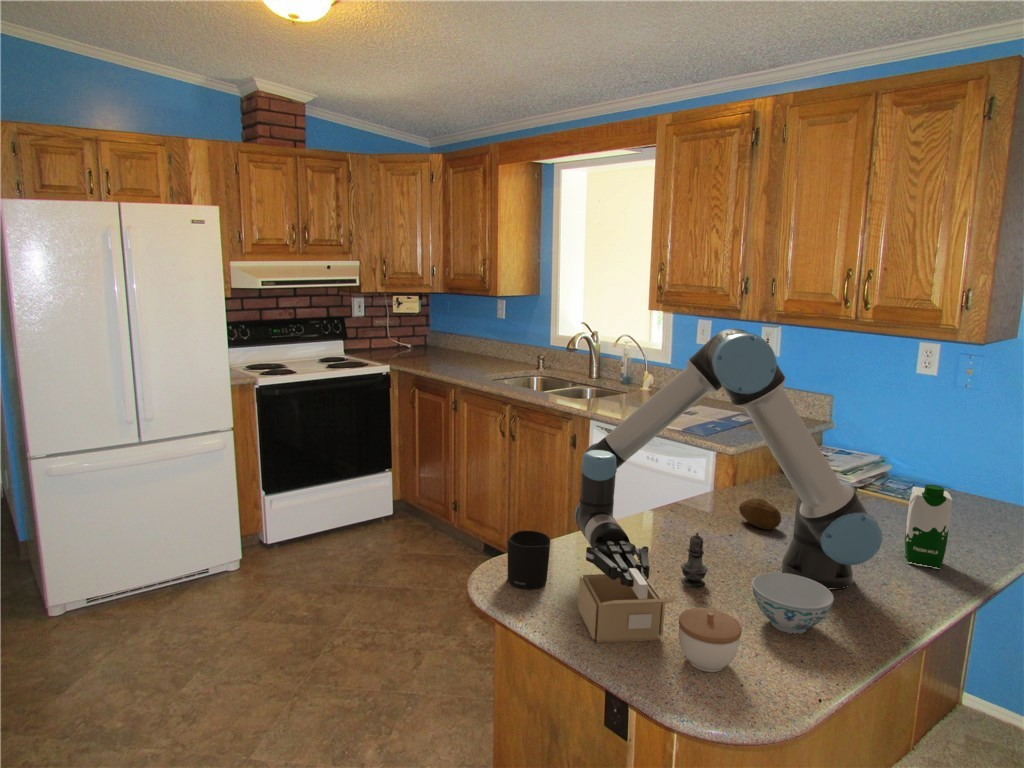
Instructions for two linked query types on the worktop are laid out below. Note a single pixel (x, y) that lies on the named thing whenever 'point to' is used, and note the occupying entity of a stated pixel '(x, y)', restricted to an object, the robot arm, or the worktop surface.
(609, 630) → the carton
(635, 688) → the worktop surface
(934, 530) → the milk carton
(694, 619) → the lidded jar
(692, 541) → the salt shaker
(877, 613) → the worktop surface
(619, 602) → the flap
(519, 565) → the pen holder
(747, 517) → the potato
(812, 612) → the chinaware
